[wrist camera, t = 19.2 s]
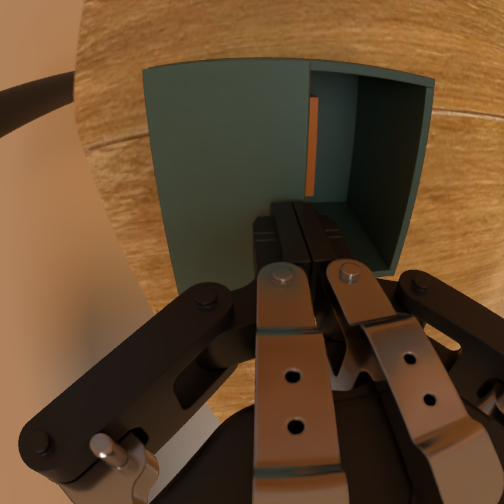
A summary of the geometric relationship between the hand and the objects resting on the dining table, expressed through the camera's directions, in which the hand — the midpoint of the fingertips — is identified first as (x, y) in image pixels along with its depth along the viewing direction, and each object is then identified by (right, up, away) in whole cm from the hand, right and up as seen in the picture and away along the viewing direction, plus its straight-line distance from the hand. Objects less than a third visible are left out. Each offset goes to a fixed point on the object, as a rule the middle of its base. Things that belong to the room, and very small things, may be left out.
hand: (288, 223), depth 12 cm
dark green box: (0, +8, +10) cm, 13 cm away
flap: (-2, +1, +1) cm, 3 cm away
